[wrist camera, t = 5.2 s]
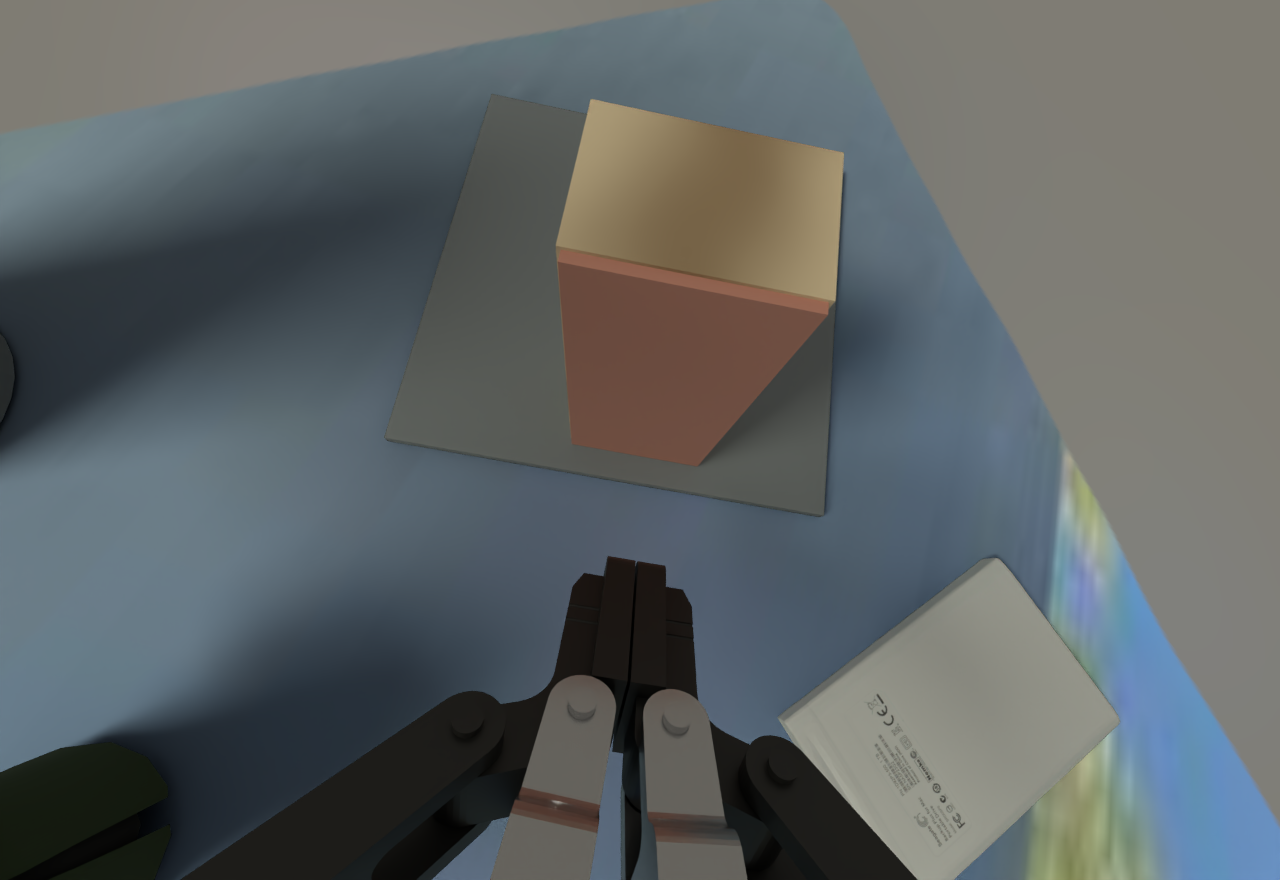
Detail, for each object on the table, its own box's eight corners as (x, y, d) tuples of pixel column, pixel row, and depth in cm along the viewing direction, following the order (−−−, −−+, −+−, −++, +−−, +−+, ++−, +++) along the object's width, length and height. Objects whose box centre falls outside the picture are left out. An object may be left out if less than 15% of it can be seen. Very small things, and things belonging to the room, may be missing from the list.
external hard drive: (1091, 716, 24) (890, 904, 21) (975, 558, 26) (772, 714, 23) (1126, 724, 23) (914, 927, 20) (1000, 556, 24) (786, 722, 21)
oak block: (569, 444, 24) (552, 257, 11) (587, 358, 26) (590, 99, 12) (698, 467, 25) (834, 313, 11) (709, 381, 26) (843, 152, 13)
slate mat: (387, 440, 24) (383, 437, 24) (493, 102, 30) (491, 94, 30) (819, 517, 25) (823, 515, 25) (839, 174, 31) (843, 168, 31)
